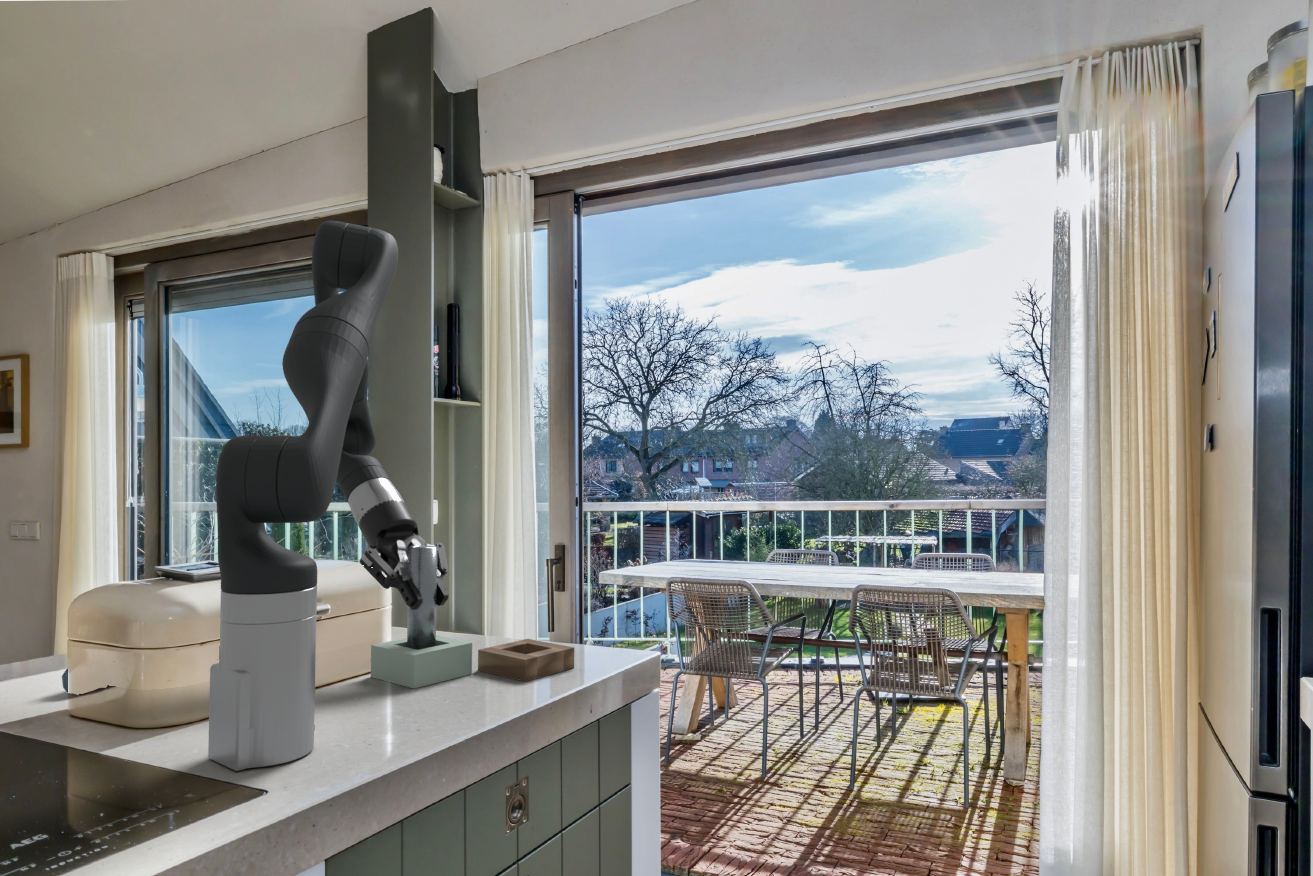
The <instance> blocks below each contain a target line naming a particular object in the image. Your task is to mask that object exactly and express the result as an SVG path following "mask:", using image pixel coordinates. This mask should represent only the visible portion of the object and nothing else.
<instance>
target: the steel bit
mask: <svg viewBox="0 0 1313 876" xmlns="http://www.w3.org/2000/svg"><path fill="white" fill-rule="evenodd" d="M437 548H438V547H437V546H411V547H409V562H408V572H409V576H410V579H409V581H412V582H413V583H414V584H415V586H416V588H417V590H418V592H419V594H420V595H421V597H422V600H423V602H422V604H421V605H420V607H419V608H418V609H416V610H412V609H411V608H410V607H409V606H408V605H407V618H406V619H407V621H406V622H407V623H406V624H407V625H406V626H407V628H406V638H407V648H411V649H416V650H420V649H425V648H430V647H434V646H436V635H437V606H438V605H437Z"/></svg>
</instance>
